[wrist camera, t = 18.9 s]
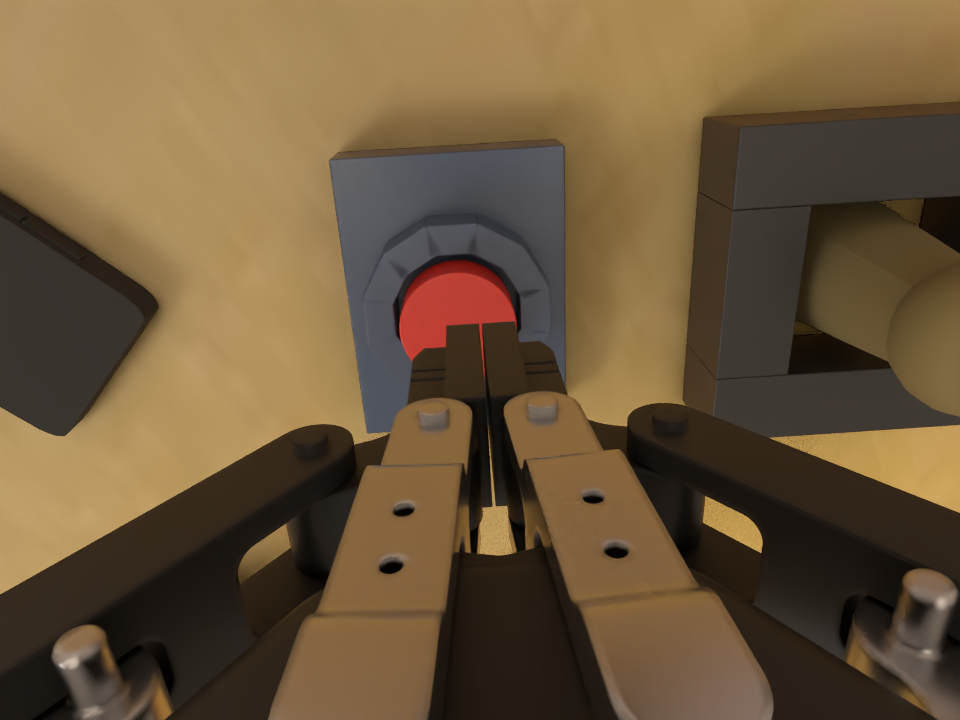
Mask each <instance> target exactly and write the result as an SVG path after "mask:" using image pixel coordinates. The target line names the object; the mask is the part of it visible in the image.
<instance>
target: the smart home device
mask: <svg viewBox="0 0 960 720" xmlns="http://www.w3.org/2000/svg"><path fill="white" fill-rule="evenodd" d="M157 310H158V304H157V302H156V300H155V299H154V297H153V296H152V295H151V294H150V293H149V292H148V291H147V290H145V289H144V288H143V287H142V286H140V285H139V284H137V283H136V282H134V281H133V280H131V279H130V278H128V277H127V276H125V275H124V274H122V273H121V272H119V271H118V270H116V269H115V268H113V267H112V266H110V265H109V264H107V263H106V262H104V261H103V260H101V259H100V258H98V257H97V256H95V255H94V254H92V253H91V252H89V251H88V250H86V249H85V248H83V247H82V246H80V245H79V244H77V243H75V242H74V241H72V240H71V239H69V238H68V237H66V236H65V235H63V234H62V233H60V232H59V231H57V230H56V229H54V228H53V227H51V226H50V225H48V224H47V223H45V222H44V221H42V220H41V219H39V218H38V217H36V216H35V215H33V214H32V213H30V212H29V211H27V210H26V209H24V208H23V207H21V206H20V205H18V204H17V203H15V202H14V201H12V200H11V199H9V198H8V197H6V196H4V195H3V194H1V193H0V407H1V408H3V409H5V410H7V411H8V412H10V413H12V414H14V415H15V416H17V417H19V418H21V419H22V420H24V421H26V422H28V423H29V424H31V425H33V426H35V427H37V428H38V429H40V430H42V431H45V432H47V433H49V434H52V435H56V436H65V435H67V434H68V433H69V432H70V431H71V430H72V429H73V428H74V427H75V426H76V425H77V424H78V423H79V422H80V421H81V420H82V419H83V418H84V416H85V415H86V413H87V412H88V411H89V409H90V408H91V406H92V405H93V403H94V402H95V400H96V399H97V397H98V396H99V394H100V393H101V392H102V390H103V389H104V387H105V386H106V384H107V383H108V381H109V380H110V378H111V377H112V375H113V374H114V373H115V371H116V370H117V368H118V367H119V365H120V364H121V362H122V361H123V359H124V358H125V356H126V355H127V354H128V352H129V351H130V349H131V348H132V346H133V345H134V343H135V342H136V340H137V339H138V337H139V336H140V335H141V333H142V332H143V330H144V329H145V327H146V326H147V324H148V323H149V321H150V320H151V318H152V317H153V316H154V314H155V313H156V311H157Z"/></svg>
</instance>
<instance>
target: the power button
mask: <svg viewBox="0 0 960 720" xmlns="http://www.w3.org/2000/svg"><path fill="white" fill-rule="evenodd" d="M508 321H515V325H516V329H517V322H516V316H515V312H514V308H513V304H512V300H511V296H510V293H509V291H508V289H507V287H506V286H505V284H504V283H503V281H502V280H501V279H500V278H499V277H498V276H497V275H496V274H495V273H494V272H493V271H491V270H490V269H488V268H487V267H485V266H483V265H481V264H478V263H476V262H472V261H467V260H449V261H444V262H440V263H437V264H435V265H432V266H431V267H429V268H427V269H425V270H424V271H423V272H421V273H420V274H419V275H418V276H417V277H416V278H415V279H414V280H413V282H412V283H411V284H410V286H409V288H408V290H407V292H406V294H405V297H404V301H403V305H402V311H401V316H400V323H399V331H400V338H401V342H402V345H403V347H404V349H405V351H406V353H407V355H408V356H409V358H410V359H411V360H412V361H413V358H414V357H415V356H416V355H417V354H418V353H420V352H421V351H422V350H423V349H424V348H438V347H446V326H447V325H462V324H478V323H479V328H480V338H481V349H482V359H483V369H484V355H483V337H482V323H492V322H508ZM484 376H485V372H484Z"/></svg>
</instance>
